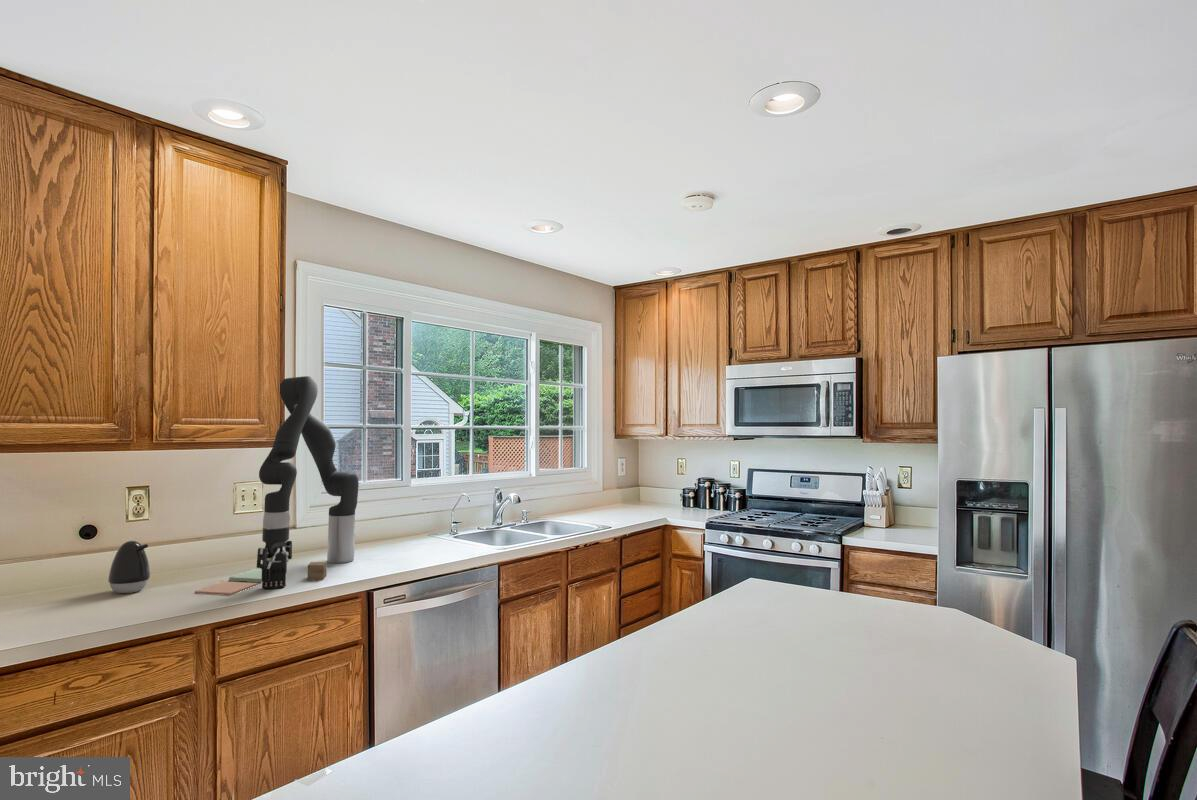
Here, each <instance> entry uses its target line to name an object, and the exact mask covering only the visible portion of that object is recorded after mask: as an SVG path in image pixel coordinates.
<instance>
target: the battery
mask: <svg viewBox="0 0 1197 800" xmlns="http://www.w3.org/2000/svg"><path fill="white" fill-rule="evenodd" d="M287 554H288V552H287V553H286V552H285V551H284V552H283V551H279V553H278V554H277V556H276V558H275V561H274V562H273V563H272V564H271V566H270V568H269V569H270V580H269V581H262V583H261V588H262V590H273V589H282V588H285V587H286V585H287V584H286V583H287V573H286V571H288V570H287V569H288V562H287ZM267 558H270V557H268V556H267ZM261 561H262V562H263V560H261ZM262 562H261V563H262ZM267 564H268V562H267Z"/></svg>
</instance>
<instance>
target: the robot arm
mask: <svg viewBox="0 0 1197 800" xmlns="http://www.w3.org/2000/svg"><path fill="white" fill-rule="evenodd" d="M282 380H283V381H282ZM282 380H281V381H282V383H281V384H280V394H279V396H280V395H281V397H280V399H281V398H282V399H281V401H282V400H283V401H284V403H283V404H284V406H285V407H286V409H287V411H288V412H289V414H290V415H289V416H288V417H287V418H286V419H285V420H284V421H283V423H282V424H281V425H280V426H279V428H278V429H277V432H276V434H275V436H274V441H273V446H272V447H271V450H270V452H269V453H268V455H267V457H266V458H265V460H264V461H263V462H262V464H261V466H260V468H259V471H258V478H259V481H260V482H261V483H262V484H263V485H270V486H271V485H274V486H275V485H278V486H279V485H280V489H279V490H276V491H272V492H268V493H266V494H265V497H264V510H263V518H262V536H261V538H262V542H263V543H265V546H264V547H258V549H257V554H256V555H257V556H256V557H257V558H256V559H257V560H256V569H262V581H269V580H270V569H269V568H270V566H271V564H272V563H273V562H274V561H275V558H276V556H277V554H278V553H279V551H283V552H284V551H285V552H286V553H287V563H289V560H291V559H293V541H292V540H290V521H291V519H290V518H291V516H290V500H291V494H292V490H293V487H294V484H295V481H296V478H297V475H298V473H297V472H298V470H297V467H296V465H295V464H294V463H293V462H285V461H287V460H290V459H293V458H294V457H295V456H296V453H297V450H298V447H299V446H298V445H299V441H300V438H301V436H302V438H303V440H304V443H305V445H306V447H307V449H308V451H309V453H310V454H311V456H312V459H313V461H314V463H315V465H316V467H317V470H318V473H319V475H320V479H321V481H322V484H323V488H324V489H325V491H326V493H328V495H329V496H333V497H340V500H339V502H338V503H337V504H336V505H335V504H334V505H332V506H330V507H329V509H328V525H327V526H328V527H327V551H326V552H327V555H326V557H327V558H326V562H327V563H329V564H331V563H333V564H340V563H341V564H342V563H349V562H352V561H353V562H354V559H355V541H356V537H355V536H356V535H355V528H356V527H355V526H356V525H355V524H356V523H355V522H356V509H357V505H358V499H359V495H358V494H359V488H360V487H359V485H360V484H359V482H360V481H359V477H358V476H357V474H356V473H355V472H349V471H339V470H338V469H337V468H336V466H335V464H334V460H333V459H334V454H335V451H336V443H337V442H336V439H335V437H334V436H333V433H332V430H331V428H330V427H329V425H327V424H326V423H325V422H324V421H323V420H322V419H320V418H319V417H317V416H316V415H314V414H313V413H312V412H311V411H312V408H313V407H314V404H315V402H316V399H317V397H318V393H319V392H318V391H319V390H318V389H319V388H318V384H317V381H316V379H315V378H314V377H312V376H307V375H305V376H297V377H296V376H295V377H286V378H284V379H282ZM283 401H282V402H283ZM283 461H284V462H283ZM267 556H268V557H270V558H267ZM262 560H263V562H261V561H262ZM267 562H268V564H267ZM287 571H288V570H287ZM287 571H286V574H287Z"/></svg>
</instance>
